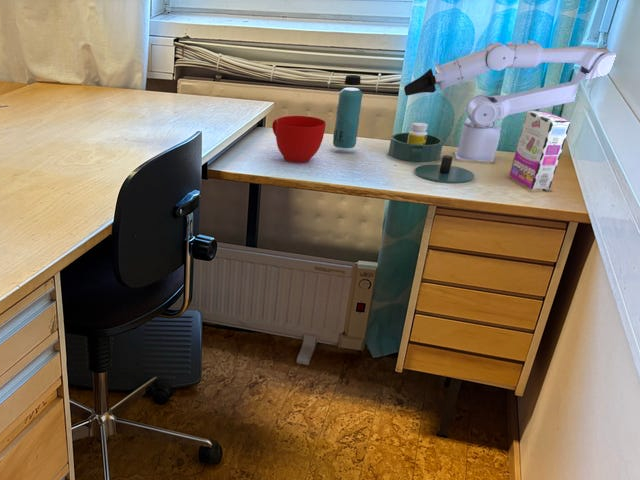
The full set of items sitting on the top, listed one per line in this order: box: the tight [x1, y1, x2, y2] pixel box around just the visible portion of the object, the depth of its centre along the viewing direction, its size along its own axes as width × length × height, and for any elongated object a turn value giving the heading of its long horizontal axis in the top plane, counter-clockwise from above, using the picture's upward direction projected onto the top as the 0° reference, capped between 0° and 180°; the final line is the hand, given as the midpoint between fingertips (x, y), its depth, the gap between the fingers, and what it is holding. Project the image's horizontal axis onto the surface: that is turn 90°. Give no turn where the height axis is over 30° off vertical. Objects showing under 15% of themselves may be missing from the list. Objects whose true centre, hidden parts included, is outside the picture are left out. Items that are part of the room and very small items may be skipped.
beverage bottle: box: [332, 74, 364, 149], centre depth 193 cm, size 6×7×20 cm
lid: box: [414, 155, 475, 184], centre depth 177 cm, size 14×14×5 cm
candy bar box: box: [508, 110, 572, 192], centre depth 169 cm, size 11×5×16 cm, turn 5°
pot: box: [387, 132, 444, 163], centre depth 192 cm, size 13×19×5 cm
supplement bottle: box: [407, 122, 429, 145], centre depth 190 cm, size 5×5×8 cm
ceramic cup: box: [271, 115, 327, 164], centre depth 189 cm, size 13×17×10 cm
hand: (405, 91), depth 187 cm, fingers open, 7 cm apart
